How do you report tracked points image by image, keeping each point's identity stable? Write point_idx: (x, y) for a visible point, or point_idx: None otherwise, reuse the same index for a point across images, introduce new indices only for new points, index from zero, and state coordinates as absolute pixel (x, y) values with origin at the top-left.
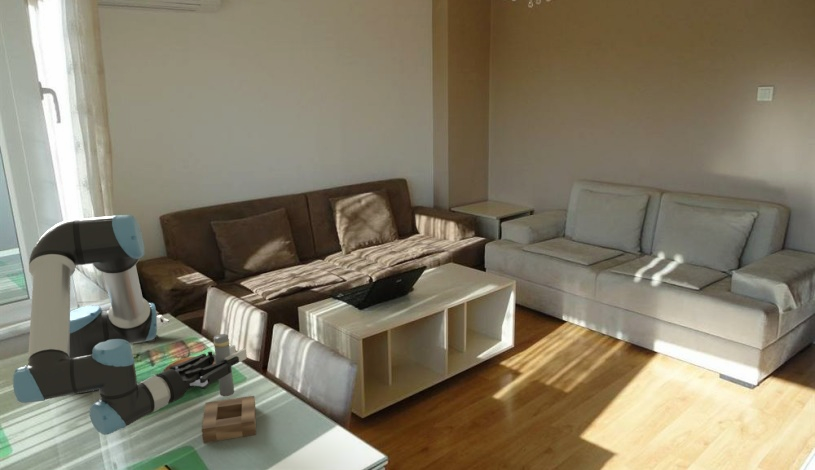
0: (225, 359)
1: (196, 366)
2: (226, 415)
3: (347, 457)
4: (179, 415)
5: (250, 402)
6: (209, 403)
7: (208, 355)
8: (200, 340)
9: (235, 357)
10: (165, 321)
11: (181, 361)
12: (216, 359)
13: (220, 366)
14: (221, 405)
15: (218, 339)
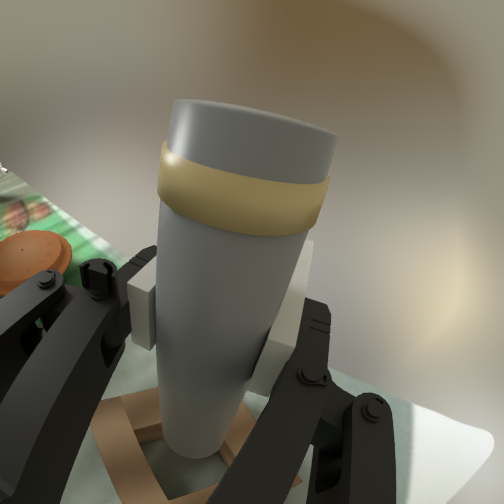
0: (281, 350)
1: (29, 478)
2: (158, 435)
3: (473, 457)
4: None
5: None
6: (98, 409)
7: (87, 295)
8: (43, 200)
9: (312, 310)
10: (3, 171)
11: (10, 241)
12: (176, 344)
13: (354, 484)
14: (142, 421)
15: (279, 121)
